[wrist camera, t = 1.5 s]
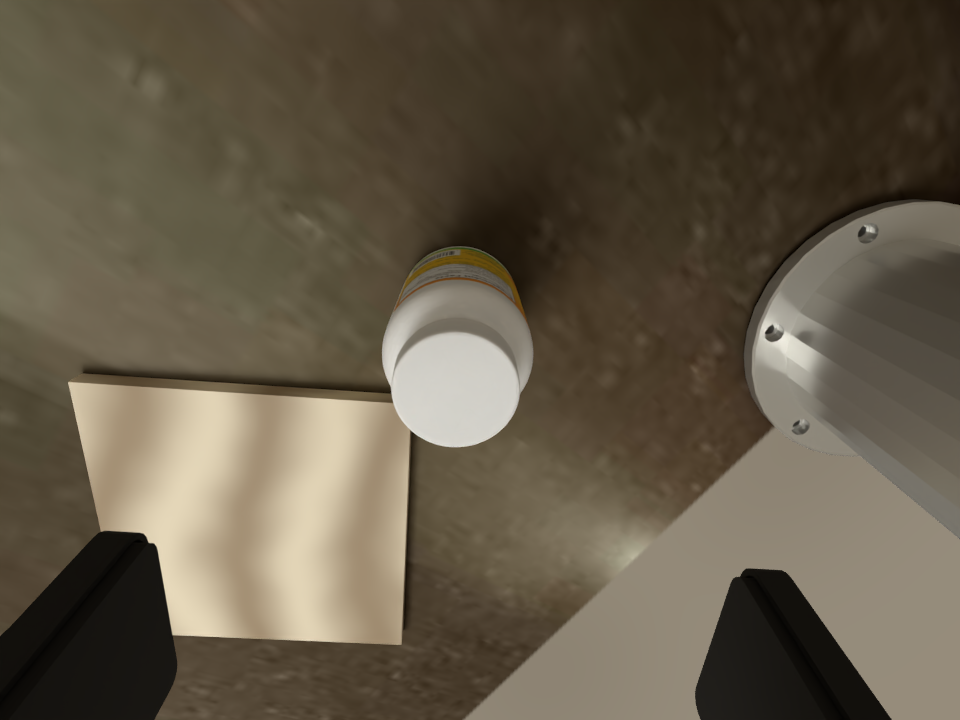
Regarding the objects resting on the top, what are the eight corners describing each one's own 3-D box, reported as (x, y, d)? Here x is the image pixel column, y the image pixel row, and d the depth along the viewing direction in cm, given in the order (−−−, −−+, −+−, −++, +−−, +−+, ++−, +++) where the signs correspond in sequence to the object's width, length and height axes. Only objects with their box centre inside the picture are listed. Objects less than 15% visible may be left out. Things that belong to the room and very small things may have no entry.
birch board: (413, 395, 28) (411, 404, 27) (403, 630, 34) (401, 644, 33) (81, 373, 27) (67, 382, 26) (133, 618, 33) (123, 632, 32)
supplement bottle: (488, 371, 27) (499, 489, 18) (385, 329, 26) (343, 433, 17) (537, 272, 25) (575, 350, 16) (427, 224, 24) (405, 279, 16)
